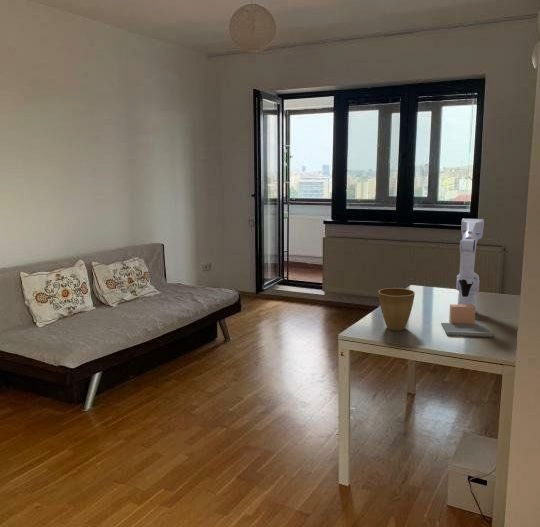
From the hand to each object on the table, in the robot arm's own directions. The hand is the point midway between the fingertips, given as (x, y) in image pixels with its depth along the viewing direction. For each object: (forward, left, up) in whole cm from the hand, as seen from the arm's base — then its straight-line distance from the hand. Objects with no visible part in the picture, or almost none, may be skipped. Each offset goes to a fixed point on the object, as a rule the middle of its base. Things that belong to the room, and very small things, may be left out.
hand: (465, 296), depth 240 cm
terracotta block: (+7, -2, -11) cm, 13 cm away
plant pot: (+17, -31, -11) cm, 37 cm away
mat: (+17, -2, -10) cm, 20 cm away
